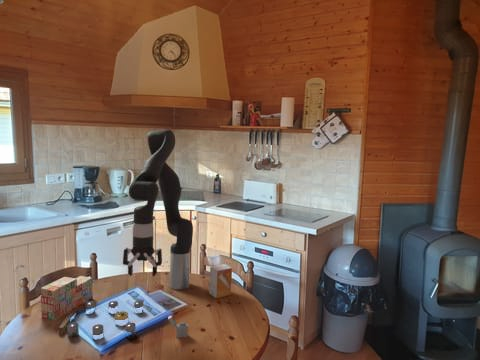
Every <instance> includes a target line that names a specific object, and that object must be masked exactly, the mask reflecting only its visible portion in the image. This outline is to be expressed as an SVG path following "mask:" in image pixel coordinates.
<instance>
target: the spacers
mask: <svg viewBox="0 0 480 360" xmlns="http://www.w3.org/2000/svg"><path fill="white" fill-rule="evenodd" d="M84 305H85V306H84V307H85V308H84V309H91V308H94V307H95V308H96V301H95V300H88V301H86V302H84ZM116 306H118V307H119V302H118V301H117V300H112V301H109V302H108V308H109V307H111V308H115V307H116ZM142 306H143V307H144V301H142V300H136V301H134V302H133V308H134V307H135V308H140V307H142ZM79 327H80V326H79V322H71V323H70V324H68V325H67V329H66V331H67V338H68V339H75V338H78V337H79ZM135 329H137V328H136V323H135V322H128V323H127V324H126V325H125V326H124V332H125V331H127V332H131V333H132V334H131V335H130V336H129V338H128V339H133V338H135V337H136V333H135V332H134V331H135ZM102 333H103V334H104V325H103V324H95V325H93V326H92V336H93V335H100V334H102Z"/></svg>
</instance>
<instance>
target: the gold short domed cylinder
mask: <svg viewBox="0 0 480 360" xmlns="http://www.w3.org/2000/svg"><path fill="white" fill-rule="evenodd" d="M127 318H128V319H129V312H127V311H118V312H117V313H116V314H114V321H115V320H125V319H127Z"/></svg>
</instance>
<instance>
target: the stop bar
mask: <svg viewBox="0 0 480 360" xmlns="http://www.w3.org/2000/svg"><path fill="white" fill-rule="evenodd" d="M76 312H77V313H78V307H76V308H73V309H72V310H71V311H70V312H68V313H67V316H65V318H64V320H63V321H62V322H61V324H60V325H59V326H58V335H64V334H65V332H66V331H67V325H68V324H70V318H71V317H72V316H73V315H74V314H75V313H76Z"/></svg>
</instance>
